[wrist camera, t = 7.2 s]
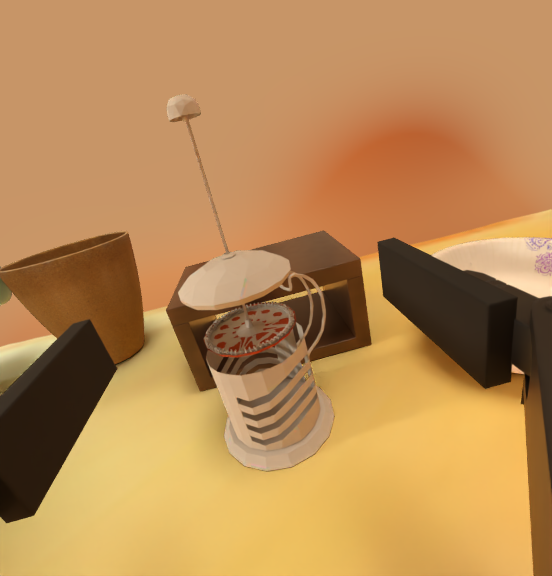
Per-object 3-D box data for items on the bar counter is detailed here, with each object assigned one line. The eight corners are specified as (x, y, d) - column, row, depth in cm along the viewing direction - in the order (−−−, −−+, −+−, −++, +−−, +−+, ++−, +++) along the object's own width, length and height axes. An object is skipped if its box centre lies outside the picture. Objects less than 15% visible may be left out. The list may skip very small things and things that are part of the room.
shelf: (200, 391, 33) (165, 310, 29) (209, 330, 45) (185, 266, 41) (371, 344, 34) (360, 258, 30) (335, 296, 46) (324, 230, 42)
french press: (207, 419, 29) (80, 127, 19) (302, 357, 34) (240, 101, 24) (260, 499, 21) (91, 74, 11) (373, 403, 26) (325, 52, 16)
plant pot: (170, 358, 40) (118, 240, 34) (47, 404, 37) (-35, 284, 31) (170, 314, 54) (132, 223, 48) (79, 345, 51) (26, 253, 45)
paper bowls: (651, 327, 27) (677, 239, 24) (602, 440, 20) (630, 336, 17) (464, 290, 39) (465, 229, 36) (390, 352, 32) (383, 282, 28)
